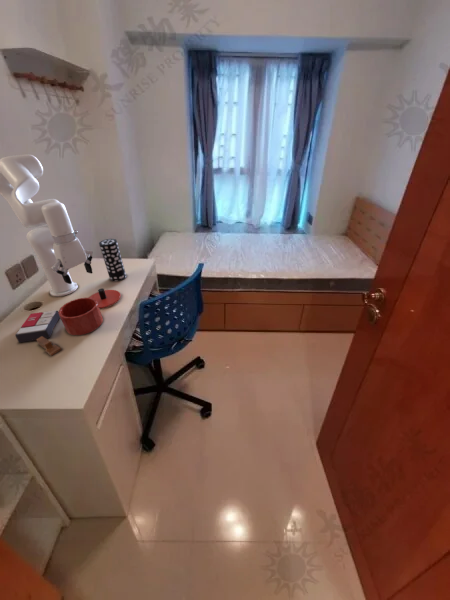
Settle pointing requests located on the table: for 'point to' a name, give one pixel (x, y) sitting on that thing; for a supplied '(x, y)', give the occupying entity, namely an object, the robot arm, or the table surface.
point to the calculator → (38, 326)
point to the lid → (106, 297)
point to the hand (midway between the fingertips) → (79, 277)
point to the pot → (81, 316)
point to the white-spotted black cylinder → (112, 259)
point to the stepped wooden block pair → (48, 346)
